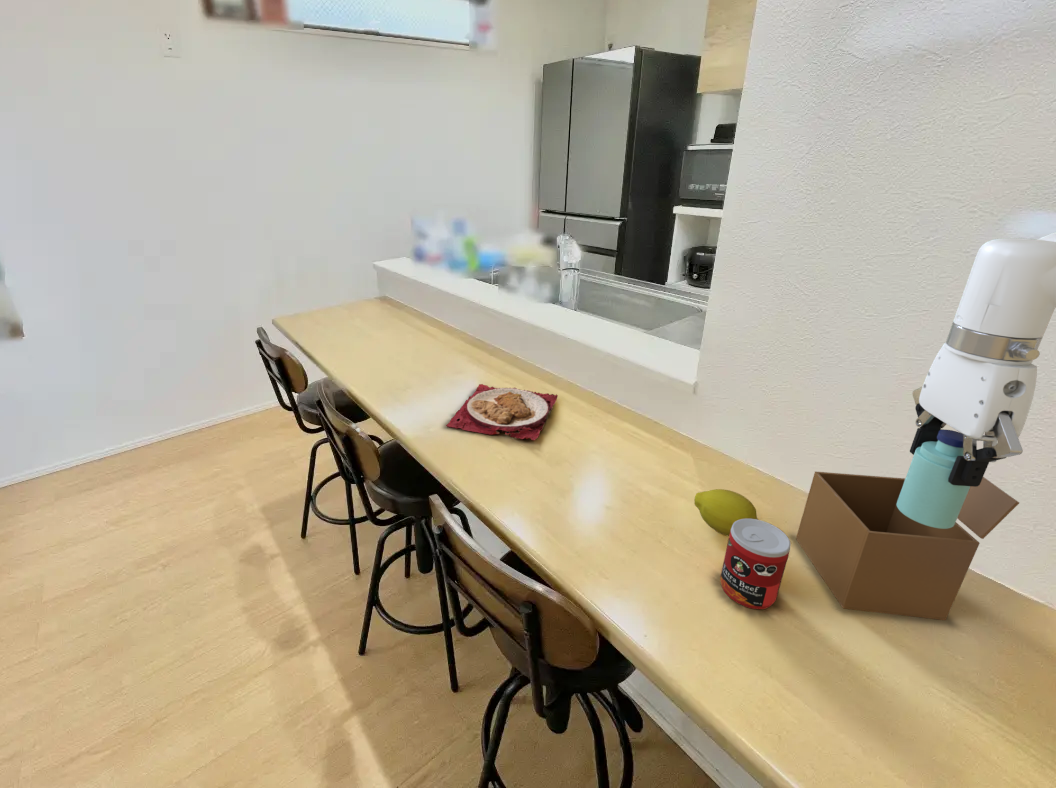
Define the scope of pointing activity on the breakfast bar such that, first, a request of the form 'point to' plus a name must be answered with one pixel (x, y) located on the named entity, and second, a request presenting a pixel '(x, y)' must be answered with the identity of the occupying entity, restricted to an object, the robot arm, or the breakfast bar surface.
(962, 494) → the bottle
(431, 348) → the breakfast bar surface
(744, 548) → the canned food
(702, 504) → the lemon
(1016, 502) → the flap
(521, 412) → the plate with food
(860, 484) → the carton
